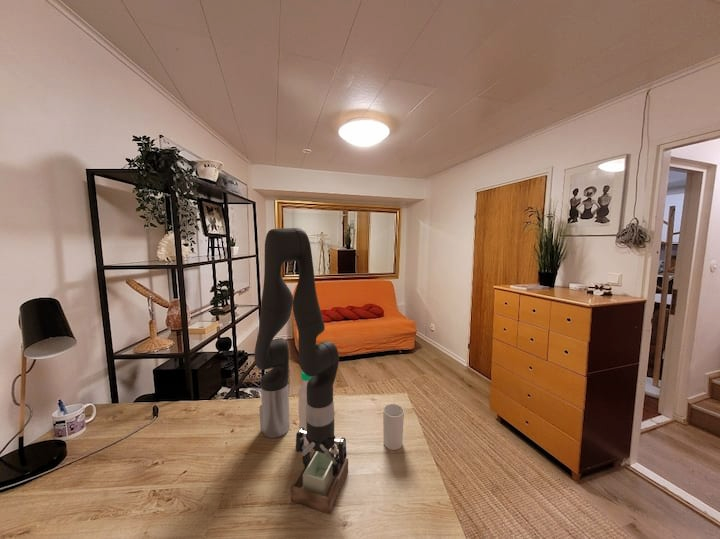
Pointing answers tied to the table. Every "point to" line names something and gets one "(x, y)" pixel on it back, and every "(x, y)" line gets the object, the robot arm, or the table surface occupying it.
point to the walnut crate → (315, 499)
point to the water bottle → (303, 403)
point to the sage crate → (318, 474)
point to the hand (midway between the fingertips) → (321, 469)
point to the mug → (393, 426)
